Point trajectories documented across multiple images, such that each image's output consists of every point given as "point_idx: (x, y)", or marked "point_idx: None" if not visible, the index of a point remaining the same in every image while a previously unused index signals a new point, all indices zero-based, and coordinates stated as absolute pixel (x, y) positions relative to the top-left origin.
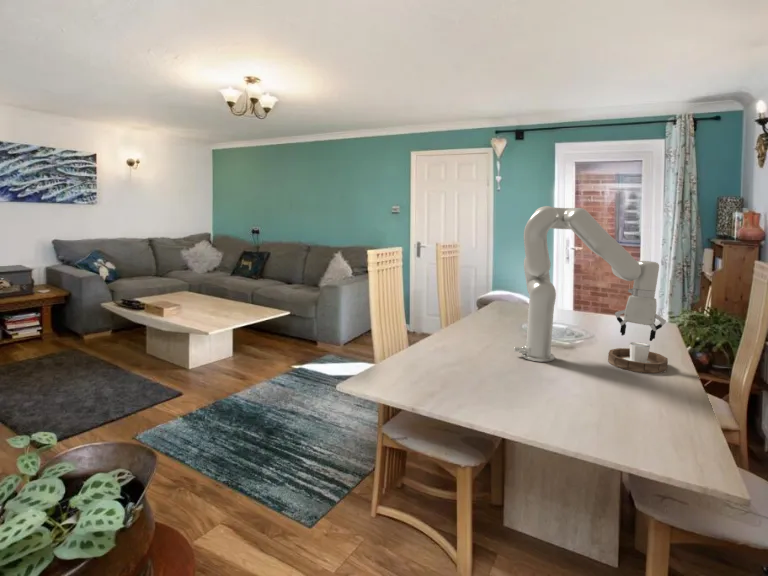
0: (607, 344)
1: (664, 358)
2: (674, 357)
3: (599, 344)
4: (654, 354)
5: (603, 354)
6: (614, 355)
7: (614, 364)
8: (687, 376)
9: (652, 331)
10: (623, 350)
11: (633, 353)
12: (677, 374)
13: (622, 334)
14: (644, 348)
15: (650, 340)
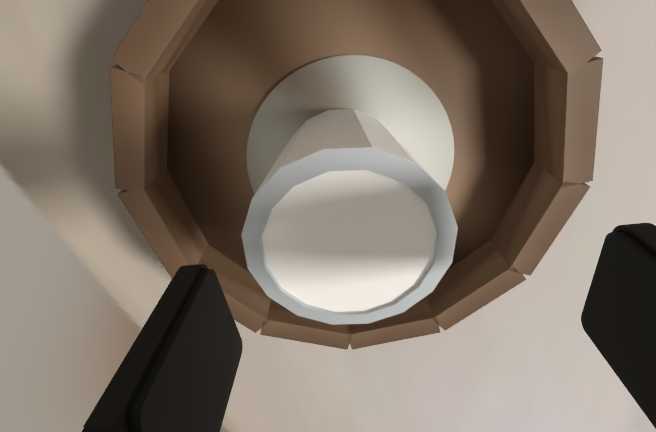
0: (575, 402)
1: (183, 263)
2: (252, 410)
3: (619, 380)
4: (282, 317)
5: (592, 219)
6: (539, 10)
7: None
8: (11, 145)
9: (98, 409)
10: (482, 276)
11: (375, 130)
12: (69, 139)
13: (638, 232)
14: (271, 173)
15: (194, 265)
